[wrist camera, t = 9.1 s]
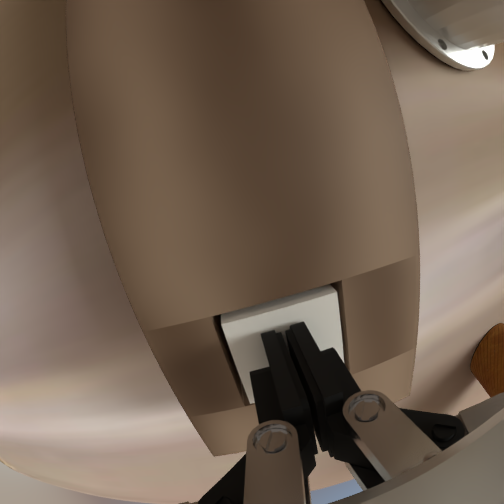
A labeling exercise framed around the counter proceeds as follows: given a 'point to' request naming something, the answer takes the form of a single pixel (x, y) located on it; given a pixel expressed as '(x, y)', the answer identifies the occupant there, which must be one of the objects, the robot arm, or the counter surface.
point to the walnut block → (248, 182)
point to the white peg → (281, 327)
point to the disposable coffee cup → (490, 361)
